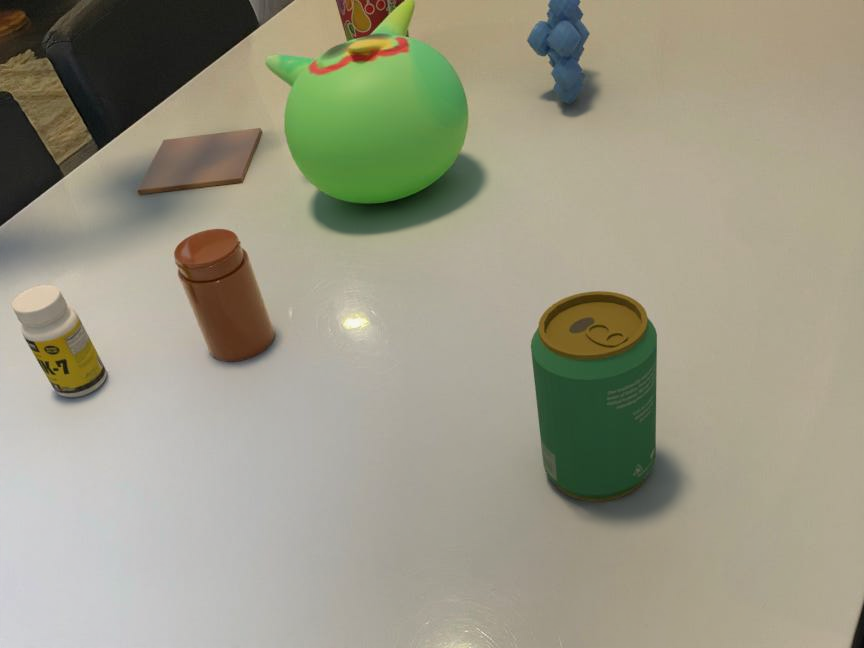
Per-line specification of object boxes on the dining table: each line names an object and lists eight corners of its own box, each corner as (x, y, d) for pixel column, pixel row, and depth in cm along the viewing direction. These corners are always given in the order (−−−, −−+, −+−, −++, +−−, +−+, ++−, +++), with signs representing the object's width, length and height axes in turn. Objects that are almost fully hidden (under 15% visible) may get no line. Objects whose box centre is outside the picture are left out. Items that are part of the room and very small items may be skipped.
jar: (203, 364, 84) (162, 270, 77) (215, 325, 88) (178, 231, 81) (269, 357, 84) (234, 261, 77) (279, 317, 87) (247, 222, 80)
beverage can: (596, 416, 73) (589, 272, 64) (678, 461, 69) (684, 313, 59) (521, 472, 70) (502, 330, 61) (602, 522, 66) (595, 378, 57)
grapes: (534, 75, 112) (524, -45, 103) (592, 69, 111) (588, -53, 102) (528, 121, 105) (517, -4, 96) (591, 115, 104) (586, -12, 95)
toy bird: (325, 251, 94) (281, 91, 82) (290, 178, 104) (247, 28, 93) (498, 198, 95) (478, 34, 84) (447, 132, 106) (423, -21, 95)
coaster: (138, 194, 107) (136, 190, 106) (165, 143, 114) (163, 139, 114) (242, 182, 105) (241, 178, 105) (262, 132, 112) (260, 127, 112)
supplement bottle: (44, 395, 85) (-6, 311, 78) (76, 362, 87) (30, 278, 81) (87, 402, 83) (39, 317, 77) (118, 369, 86) (75, 284, 79)
